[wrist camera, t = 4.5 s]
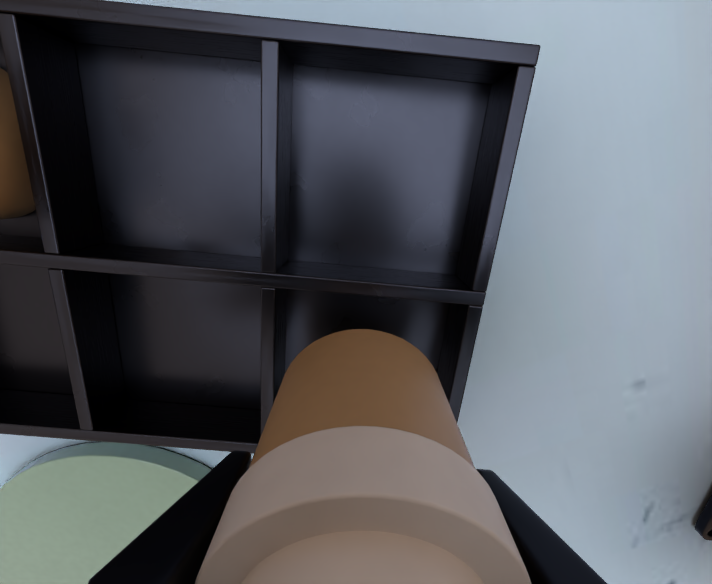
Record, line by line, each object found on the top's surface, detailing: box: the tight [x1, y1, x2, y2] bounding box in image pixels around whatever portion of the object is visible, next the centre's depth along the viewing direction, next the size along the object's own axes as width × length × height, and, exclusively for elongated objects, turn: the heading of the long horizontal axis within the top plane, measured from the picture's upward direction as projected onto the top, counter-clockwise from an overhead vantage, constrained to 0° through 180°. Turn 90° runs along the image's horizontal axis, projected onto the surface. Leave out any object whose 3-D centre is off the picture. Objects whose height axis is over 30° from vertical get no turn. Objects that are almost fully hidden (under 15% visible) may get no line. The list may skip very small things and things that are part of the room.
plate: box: [0, 442, 212, 584], centre depth 18 cm, size 15×15×1 cm
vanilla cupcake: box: [195, 329, 531, 584], centre depth 7 cm, size 6×6×8 cm
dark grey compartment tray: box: [0, 0, 540, 453], centre depth 12 cm, size 14×21×2 cm
